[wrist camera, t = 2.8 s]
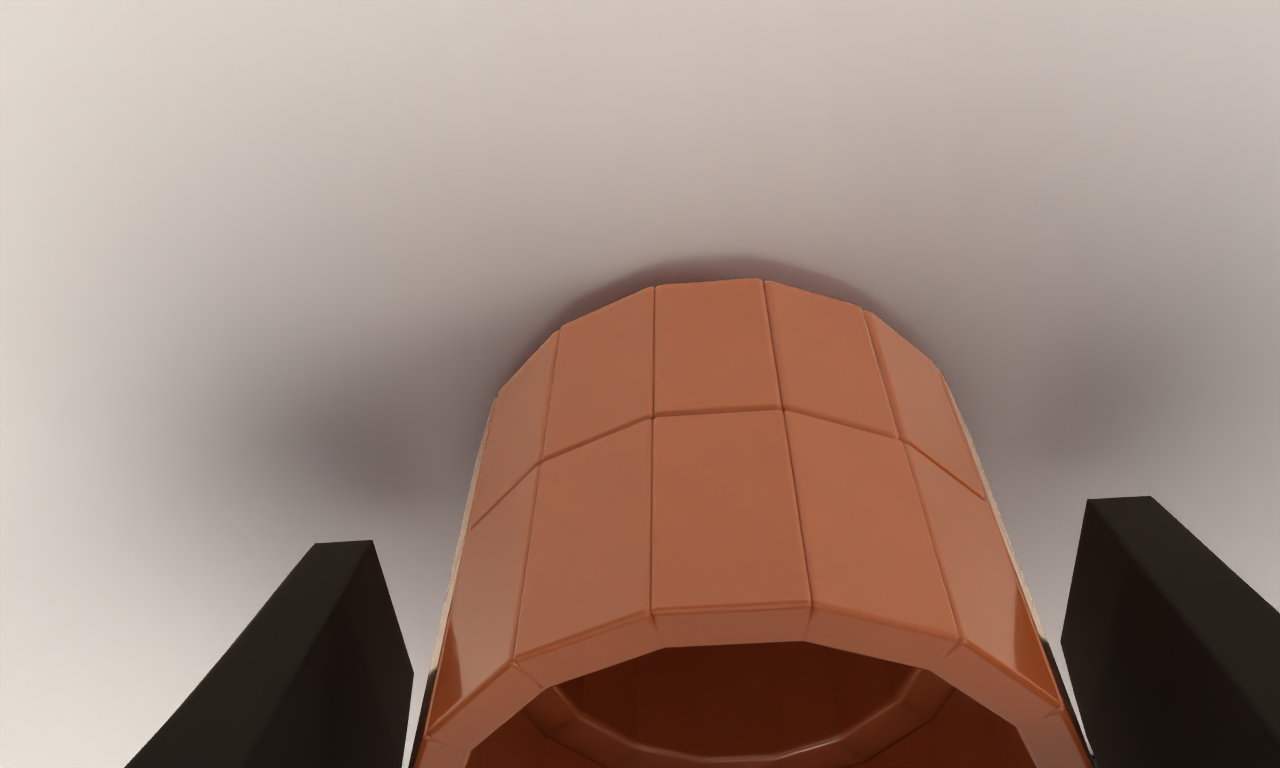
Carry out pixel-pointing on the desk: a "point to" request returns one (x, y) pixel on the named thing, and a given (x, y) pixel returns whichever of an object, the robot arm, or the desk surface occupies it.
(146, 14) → the desk surface
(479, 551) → the flower pot
